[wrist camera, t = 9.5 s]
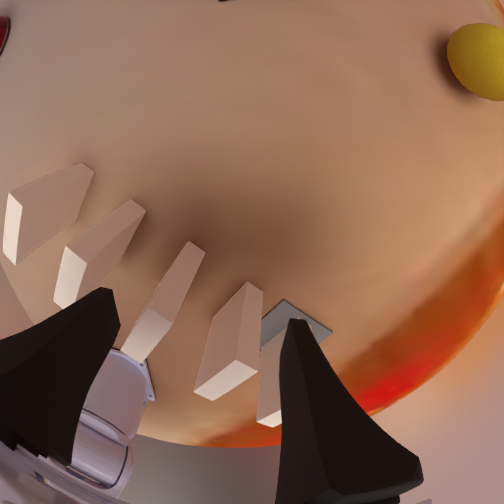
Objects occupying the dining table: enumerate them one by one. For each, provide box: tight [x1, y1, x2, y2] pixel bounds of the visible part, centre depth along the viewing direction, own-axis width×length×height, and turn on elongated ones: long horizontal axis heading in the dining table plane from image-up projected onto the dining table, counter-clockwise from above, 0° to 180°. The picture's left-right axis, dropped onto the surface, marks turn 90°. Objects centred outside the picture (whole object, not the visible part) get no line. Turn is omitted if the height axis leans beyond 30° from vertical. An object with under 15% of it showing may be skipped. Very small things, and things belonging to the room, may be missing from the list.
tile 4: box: [193, 281, 263, 401], centre depth 19 cm, size 2×5×8 cm, turn 142°
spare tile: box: [256, 317, 313, 427], centre depth 20 cm, size 2×5×8 cm, turn 142°
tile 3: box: [120, 241, 206, 364], centre depth 18 cm, size 2×5×8 cm, turn 143°
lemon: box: [447, 23, 504, 101], centre depth 8 cm, size 6×6×8 cm
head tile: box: [3, 163, 95, 265], centre depth 15 cm, size 2×5×8 cm, turn 143°
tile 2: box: [53, 199, 146, 309], centre depth 16 cm, size 2×5×8 cm, turn 143°
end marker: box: [260, 299, 333, 351], centre depth 23 cm, size 6×6×1 cm
